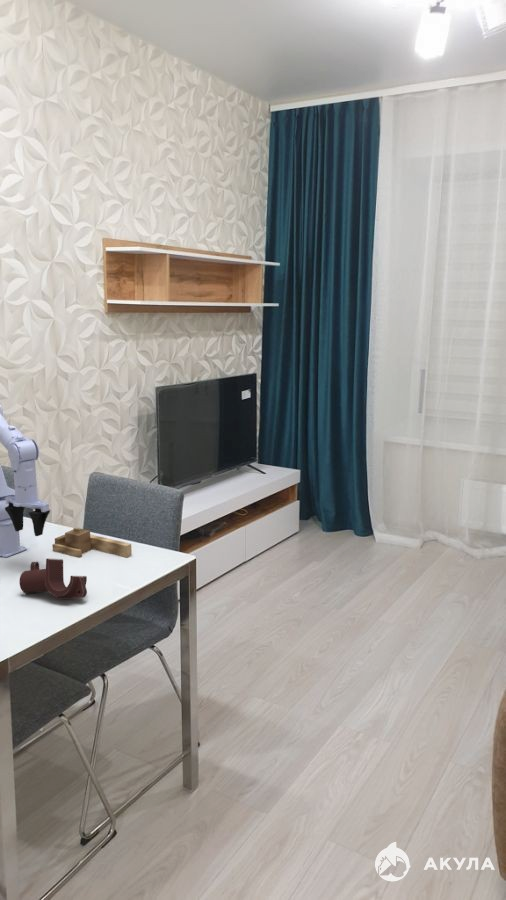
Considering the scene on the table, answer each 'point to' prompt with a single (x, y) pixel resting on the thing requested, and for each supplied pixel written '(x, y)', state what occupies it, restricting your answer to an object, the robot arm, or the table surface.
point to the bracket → (52, 580)
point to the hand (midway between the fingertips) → (28, 532)
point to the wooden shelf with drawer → (94, 546)
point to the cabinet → (78, 539)
